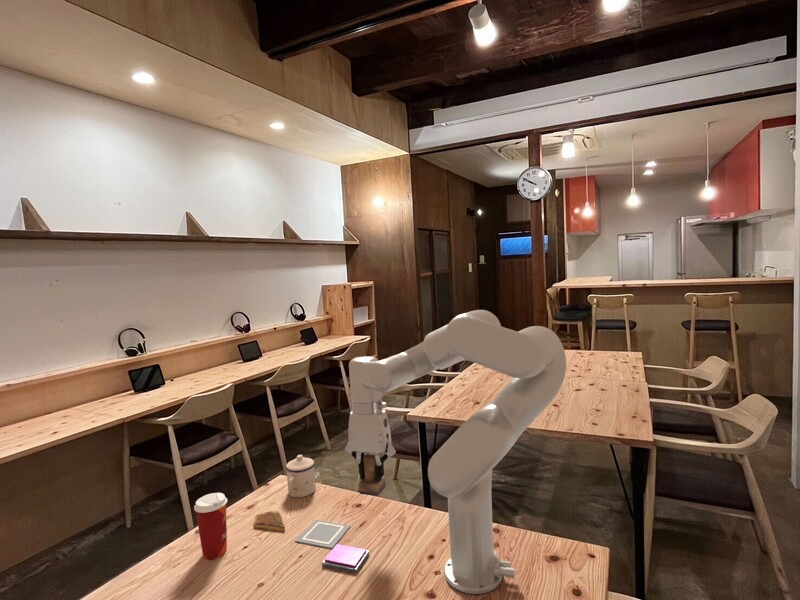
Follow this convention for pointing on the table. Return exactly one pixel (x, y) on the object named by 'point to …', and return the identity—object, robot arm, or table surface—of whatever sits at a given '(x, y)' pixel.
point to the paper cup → (212, 524)
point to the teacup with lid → (301, 477)
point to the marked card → (323, 534)
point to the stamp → (371, 477)
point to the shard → (269, 521)
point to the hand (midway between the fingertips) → (371, 477)
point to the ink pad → (345, 558)
